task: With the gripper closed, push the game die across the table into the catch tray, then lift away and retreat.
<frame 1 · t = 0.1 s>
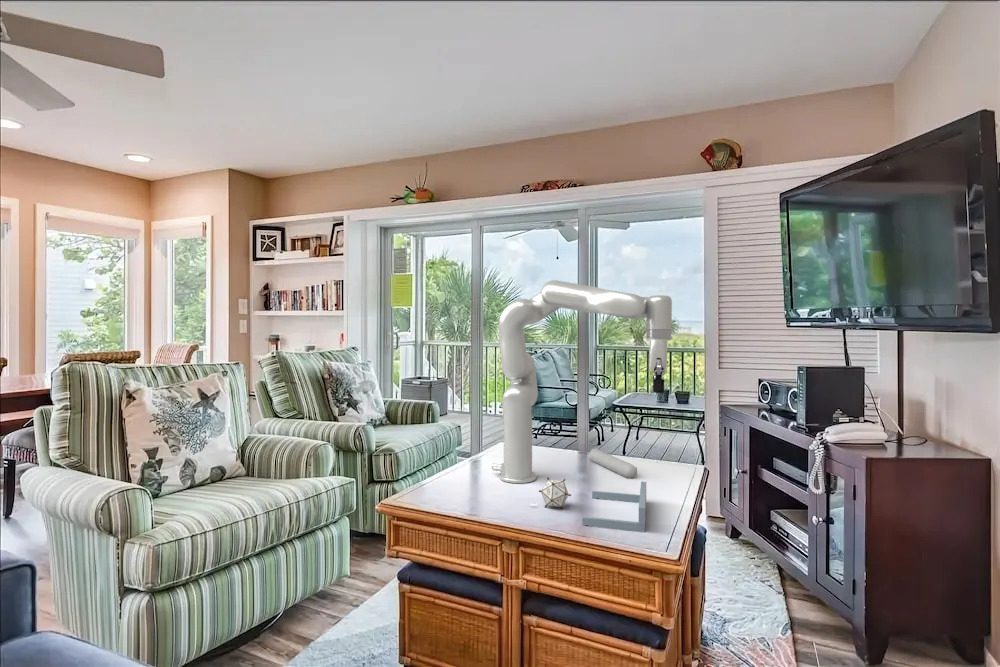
hand: (658, 390, 165), 31 cm above the table, tool pointing down, fingers open, 9 cm apart
tube: (613, 470, 189), on the table
catch tray: (616, 513, 145), on the table
game die: (554, 507, 150), on the table
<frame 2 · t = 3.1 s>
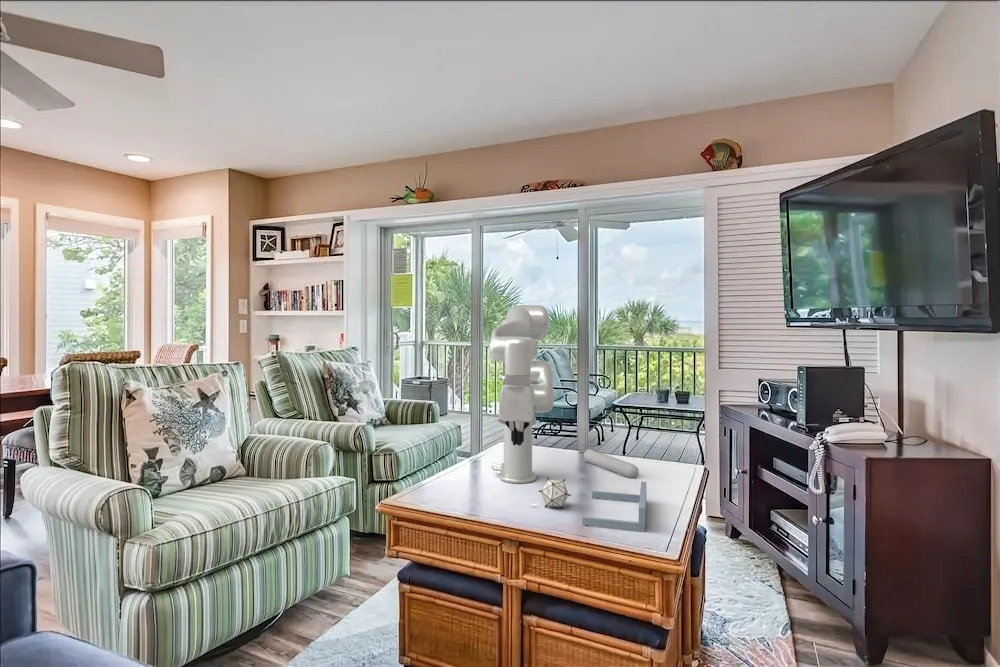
hand: (517, 444, 153), 17 cm above the table, tool pointing down, fingers closed
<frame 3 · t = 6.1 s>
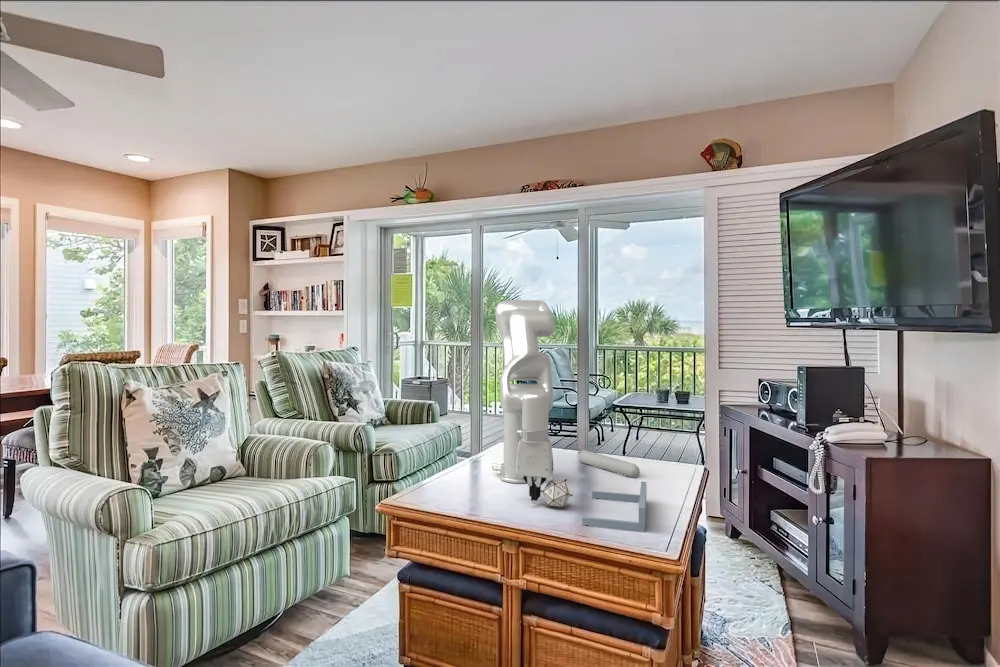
hand: (534, 499, 152), 2 cm above the table, tool pointing down, fingers closed
game die: (556, 507, 150), on the table, touching gripper
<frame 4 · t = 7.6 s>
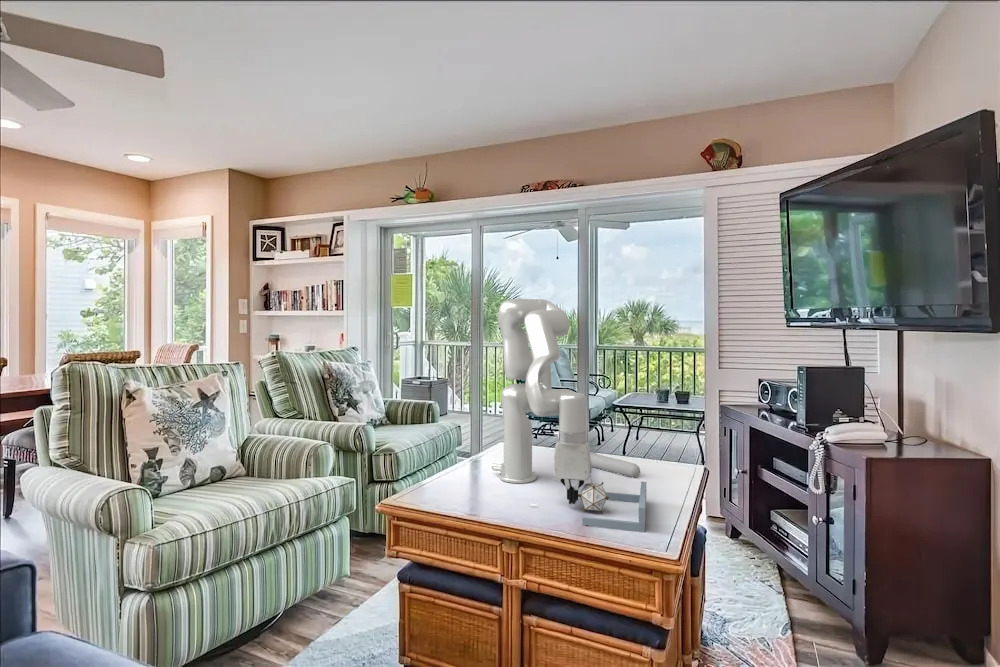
hand: (572, 502, 148), 2 cm above the table, tool pointing down, fingers closed
game die: (592, 511, 147), on the table, touching gripper
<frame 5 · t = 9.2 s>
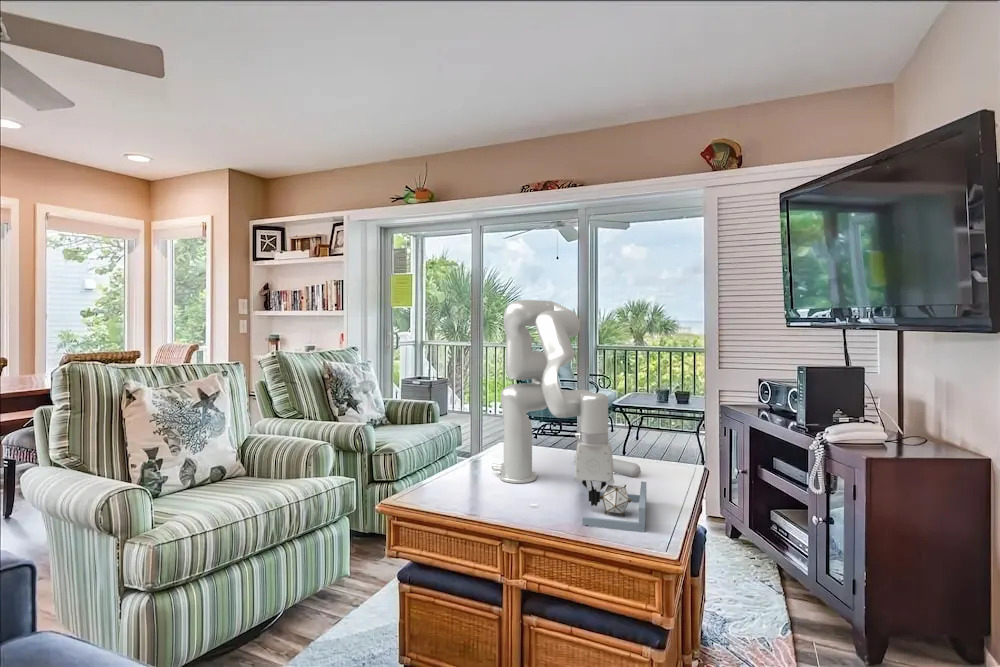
hand: (594, 504, 147), 2 cm above the table, tool pointing down, fingers closed
game die: (614, 514, 145), on the table, touching gripper
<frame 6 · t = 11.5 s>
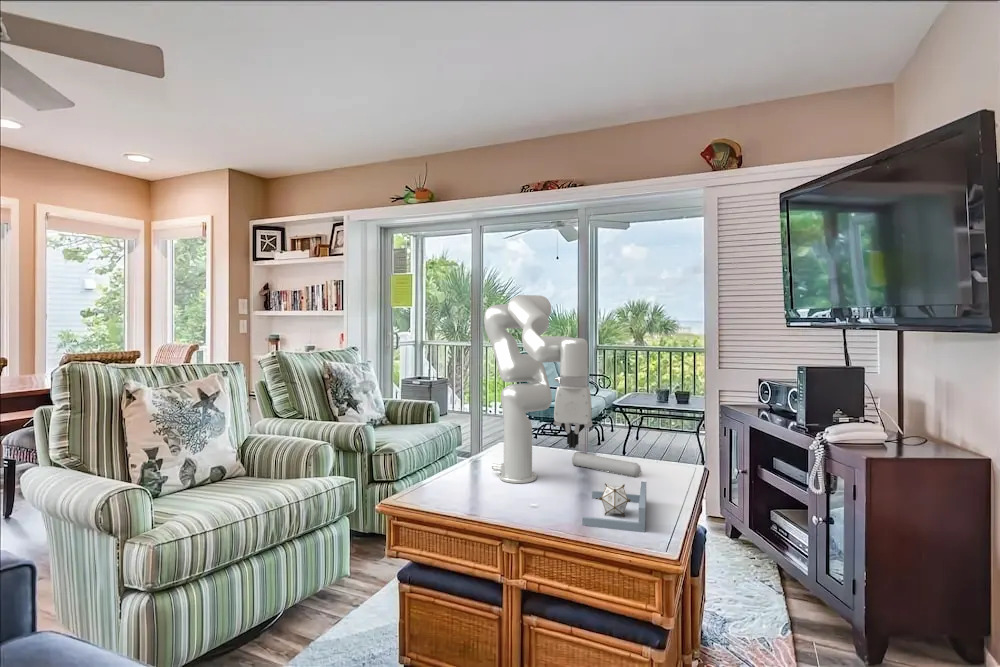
hand: (572, 446, 149), 17 cm above the table, tool pointing down, fingers closed
game die: (614, 515, 145), on the table
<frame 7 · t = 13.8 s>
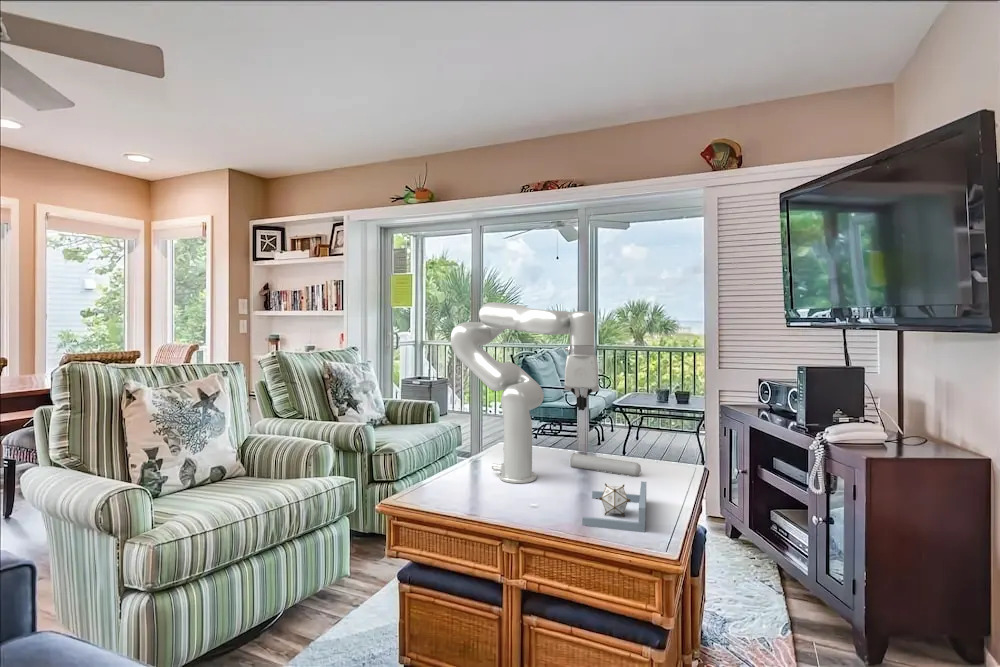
hand: (581, 409, 166), 25 cm above the table, tool pointing down, fingers closed
at the end: game die inside the target area (1.5 cm from its centre), on the table; game die tilted 0° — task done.
